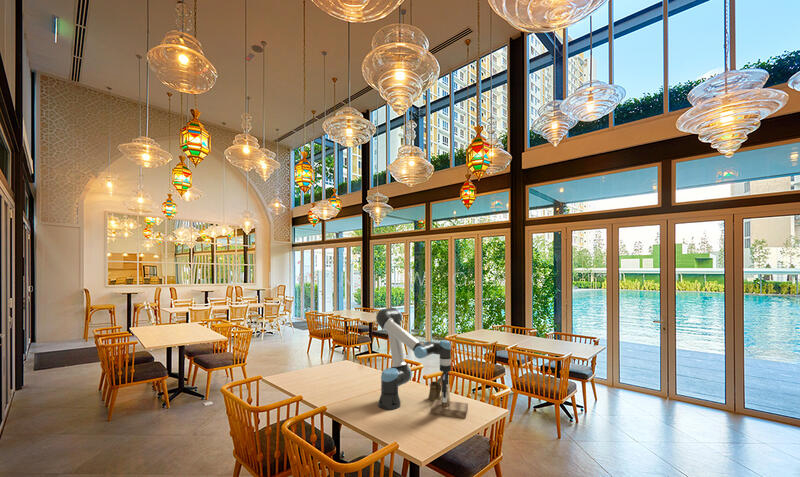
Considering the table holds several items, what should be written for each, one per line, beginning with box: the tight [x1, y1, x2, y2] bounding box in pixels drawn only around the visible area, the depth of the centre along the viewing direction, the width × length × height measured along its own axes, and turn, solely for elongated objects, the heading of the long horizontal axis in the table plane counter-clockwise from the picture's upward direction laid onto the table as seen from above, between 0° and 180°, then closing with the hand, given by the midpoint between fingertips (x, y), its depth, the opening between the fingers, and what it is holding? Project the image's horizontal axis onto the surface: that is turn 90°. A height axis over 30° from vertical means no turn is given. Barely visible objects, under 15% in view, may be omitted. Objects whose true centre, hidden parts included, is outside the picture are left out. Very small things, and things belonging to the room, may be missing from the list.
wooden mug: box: [427, 376, 442, 402], centre depth 254 cm, size 9×14×18 cm, turn 34°
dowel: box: [440, 384, 451, 407], centre depth 234 cm, size 6×6×15 cm
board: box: [430, 400, 469, 419], centre depth 233 cm, size 22×14×4 cm, turn 74°
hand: (445, 400), depth 234 cm, fingers closed on dowel, 6 cm apart
